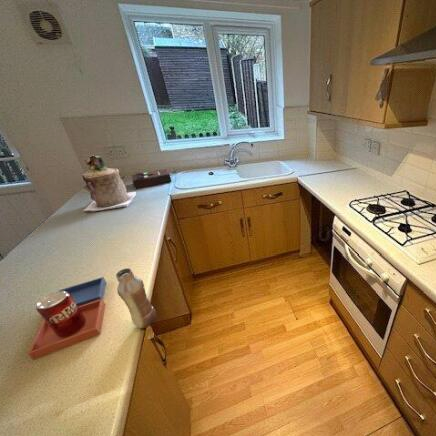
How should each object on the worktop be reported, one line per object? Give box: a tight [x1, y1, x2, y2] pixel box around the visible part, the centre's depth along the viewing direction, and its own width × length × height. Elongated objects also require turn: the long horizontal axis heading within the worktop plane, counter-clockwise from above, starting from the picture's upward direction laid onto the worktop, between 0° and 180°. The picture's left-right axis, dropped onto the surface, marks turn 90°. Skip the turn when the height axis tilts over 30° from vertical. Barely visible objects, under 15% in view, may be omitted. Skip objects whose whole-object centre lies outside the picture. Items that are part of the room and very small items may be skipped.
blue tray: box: [58, 276, 107, 307], centre depth 84 cm, size 13×11×3 cm
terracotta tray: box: [27, 298, 106, 360], centre depth 73 cm, size 15×13×3 cm
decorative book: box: [130, 168, 173, 190], centre depth 189 cm, size 19×8×30 cm
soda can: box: [35, 290, 86, 337], centre depth 70 cm, size 7×7×12 cm
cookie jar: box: [82, 154, 137, 213], centre depth 150 cm, size 25×25×32 cm
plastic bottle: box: [115, 268, 157, 329], centre depth 70 cm, size 6×7×20 cm
